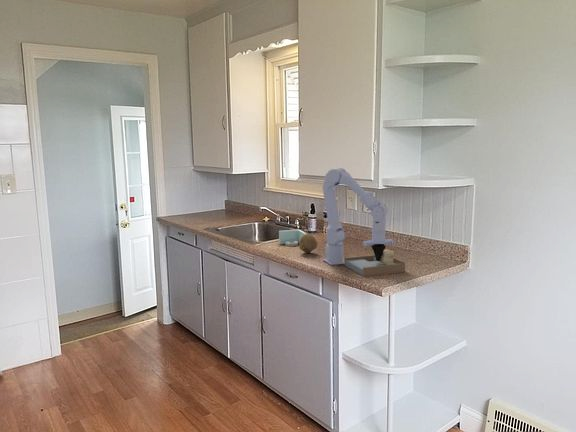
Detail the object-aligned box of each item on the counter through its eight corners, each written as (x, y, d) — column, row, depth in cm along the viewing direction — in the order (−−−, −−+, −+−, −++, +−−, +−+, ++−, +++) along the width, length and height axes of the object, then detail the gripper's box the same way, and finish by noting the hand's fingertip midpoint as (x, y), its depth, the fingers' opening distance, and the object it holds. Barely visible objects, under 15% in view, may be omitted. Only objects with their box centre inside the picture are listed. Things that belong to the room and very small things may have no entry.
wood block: (378, 261, 214) (378, 250, 213) (387, 260, 215) (387, 249, 215) (383, 263, 209) (384, 252, 208) (393, 262, 211) (393, 251, 210)
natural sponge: (320, 252, 241) (320, 233, 239) (311, 256, 234) (311, 236, 232) (305, 250, 246) (305, 231, 244) (296, 253, 239) (296, 234, 237)
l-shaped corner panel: (279, 244, 262) (278, 230, 261) (299, 242, 266) (299, 229, 265) (285, 248, 251) (285, 234, 250) (306, 247, 254) (306, 233, 253)
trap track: (344, 265, 216) (344, 255, 216) (382, 261, 223) (382, 252, 222) (363, 276, 199) (364, 265, 198) (404, 271, 205) (405, 261, 204)
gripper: (368, 233, 203) (367, 264, 205) (397, 231, 207) (396, 261, 209) (360, 230, 209) (360, 260, 211) (389, 228, 214) (388, 257, 216)
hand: (377, 260), depth 211 cm, fingers closed
